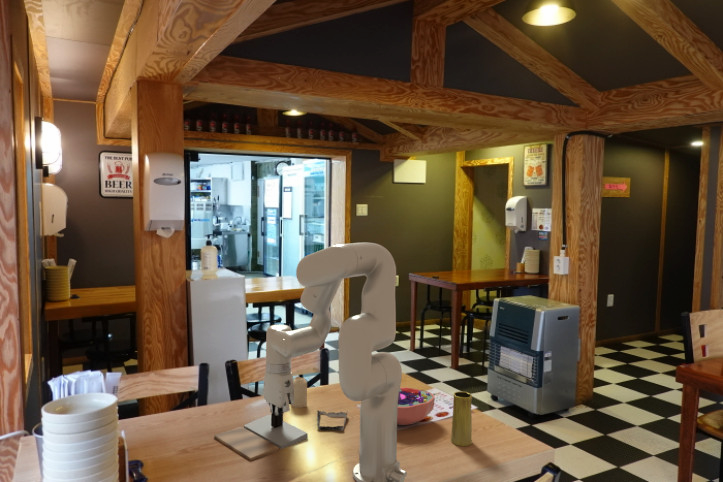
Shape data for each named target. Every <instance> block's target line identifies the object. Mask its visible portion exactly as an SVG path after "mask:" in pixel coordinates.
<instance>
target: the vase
mask: <svg viewBox="0 0 723 482" xmlns="http://www.w3.org/2000/svg"><path fill="white" fill-rule="evenodd" d="M472 399H473V396H472V394H471V393H470V392H467V391H461V390H460V391H456V392H453V401H452V402H453V403H452V404H453V406H452V422H451V435H450V441H451V443H452V444H454V445H455V446H459V447H468V446H471V445H472V444H473V441H472V440H473V439H472V429H473V428H472V426H473V425H472V424H473V422H472V420H473V419H472V417H473V416H472Z"/></svg>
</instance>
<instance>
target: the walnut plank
mask: <svg viewBox="0 0 723 482" xmlns="http://www.w3.org/2000/svg"><path fill="white" fill-rule="evenodd" d="M213 435H214V436H213V438H214V439H215V440H217V441H218V442H220V443H222V444H223V445H225V446H226V447H228V448H229V449H231V450H232V451H234V452H236V453H237V454H239V455H241V456H242V457H243V458H245V459H247V460H248V461H249V462H252V461H254V460H257V459H259V458H261V457H264V456H267V455H270V454H272V453H275V452H277V451H279V447H277V446H275V445H273V444H272V443H270V442H268V441H266V440H264V439H263V438H261V437H259V436H257V435H256V434H254V433H252V432H250V431H249V430H247V429H245V428H244V426H237V427H235V428H232V429H229V430H226V431H223V432H220V433H217V434H213Z"/></svg>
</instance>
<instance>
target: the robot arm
mask: <svg viewBox="0 0 723 482" xmlns="http://www.w3.org/2000/svg"><path fill="white" fill-rule="evenodd" d="M295 275H296V279H297V281H298V283H299V284H300V285H301V286H302V287H304V289H303V291H302V292H301V293H302V294H301V295H300V303H301V305H302V307H303V308H304V309H306V310H307V311H308V312H309V313H312V314H313V315H312V316H311V317H312V318H311V320H310V322H309V323H308V325H307V326H306V327H301V328H297V329H294V330H292V328H291V326H289V325H287V324H272V325H270V326H269V327H268V328H267V329H266V333H265V334H266V336H265V337H266V339H265V340H266V341H265V343H266V346H265V351H266V352H265V372H264V378H263V389H262V391H263V392H262V393H263V395H262V396H263V399H264V400H265V402H266V403H267V405H268V406H269V412H270V415H271V426H272V427H274V428H276V427H279V426H282V425H283V421H284V414H285V413H288V412H290V409H291V408H290V406H291V405H292V404H294V383H293V380H294V377H293V372H292V359H293V358H297V357H300V356H303V355H306V354H310V353H314V352H316V351H318V350H320V349H321V347H322V346H323V344H324V343H325V341H326V339H327V337H328V335H329V334H330V331H331V327H332V315H331V311H330V306H331V305H332V302H333V300H334V298H335V296H336V294H337V292H338V290H339V288H340V285H341V284H342V282H343V279H348V278H355V277H362V276H365V277H366V279H365V282H364V284H363V287H362V291H361V310H360V314H356V315H353V316H350V317H349V318H347V319H345V321H344V322H343V323H342V325H341V327H340V328H339V332H338V340H337V342H338V343H337V344H338V346H337V347H338V350H337V351H338V379H339V380H338V382H339V385H340V388H341V391H342V393H343V395H344V396H345V397H346V398H347V399H348V400H350V401H353V402H360V406H359V409H360V410H359V446H358V447H359V449H358V451H359V452H358V455H359V457H358V459H359V461H358V462H359V463H356V465H355V466H354V467H353V469H352V476H353V478H354V480H355V481H356V482H405V479H406V477H407V474H408V473H407V471H405V470H404V469H402V468H401V467H400V466H401V464H400V460H398V459H397V455H398V454H397V451H398V450H397V448H398V447H397V446H398V442H397V441H398V424H397V412H398V396H399V390H400V388H401V385H402V377H403V370H402V365H401V363H400V361H399V360H398V358H397V357H396V356H395V355H394V354H392V353H390V352H387V351H380V352H379V350H382V349H385V348H387V347H389V346H390V345H392V344H393V343H394V341H395V339H396V333H397V330H396V329H397V328H396V327H397V325H396V320H397V318H396V316H397V315H396V312H397V310H396V282H397V280H396V279H397V266H396V262H395V260H394V257H393V255H392V253H391V252H390V251H389V250H388V249H387V248H386V247H384V246H383V245H381V244H379V243H375V242H367V241H366V242H353V243H341V244H335V245H331V246H328V247H326V248H323V249H321V250H318V251H315V252H313V253H310V254H307V255H306V256H303V257H302V258H301V259H300V261H299V262H298V264H297V266H296V269H295ZM376 351H378V352H376ZM373 352H375V353H373Z"/></svg>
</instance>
